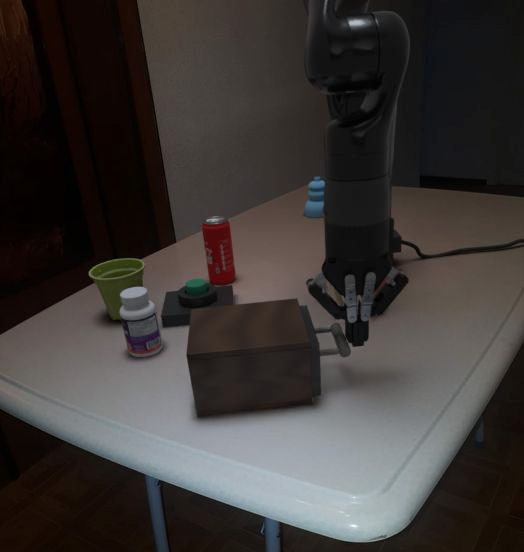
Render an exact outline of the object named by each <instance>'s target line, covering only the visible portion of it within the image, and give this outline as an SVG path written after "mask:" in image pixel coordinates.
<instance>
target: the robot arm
mask: <svg viewBox="0 0 524 552" xmlns="http://www.w3.org/2000/svg"><path fill="white" fill-rule="evenodd" d="M302 2H303V6H304V9H305V12H306V17H307V18H308V19H307V27H306V28H307V29H306V36H305V43H304V52H303V68H304V73H305V77H306V79H307V81H308V83H309V84H310V86H311V87H312V88H313V89H314V90H315V91H317V92H318V93H319V94H322V95H325V97H326V105H327V108H328V115H329V119H330V121H329V122H328V123H327V124H326V125H325V128H324V132H323V150H324V152H323V156H324V157H323V158H324V182H325V186H324V205H323V213H324V217H323V223H324V225H323V227H324V253H325V254H324V255H325V257H324V261H323V263H322V265H321V272H320V273H319V274H318V275H317V276H315V278H308V279H307V280H306V282H305V286H306V289H307V291H308V293H309V295H310V296H311V297H312V298H313V299H314V300H315V301H316V302H317V303H318V304H319V305H320V306H321V307H322V308H323V309H324V310H325V311H326V312H327V313H328V314H329V315H330V316H331V317H332V318H333V319H334V320H336V321H339V320H343V321H344V335H345V337H346V339H347V342H348V344H351V347H352V348H358V347H364V346H365V343H366V342H369V338H370V319H371V318H372V317H374V316H375V317H376V316H377V317H378V316H382V315H383V314H384V313H385V312H386V311H387V310H388V308H389V307H390V306H391V305H392V303H393V302H394V301H395V300H396V299H397V297H398V296H400V293H402V291H403V290H404V289H405V288H406V286H407V285H408V284H409V282H410V279H409V277H408V275H407V274H406V273H405V272H404V271H403V269H399V268H396V267H395V266H394V254H397V253H401V252H402V245H404V246H407V247H410V248H412V249H413V250H414V251H415V252H416V255H417V256H418V257H419V258H421V259H435V258H442V257H448V256H452V255H455V254H456V255H457V254H462V253H469V252H482V251H493V250H500V249H501V250H502V249H507V248H511V247H513V246H515V245H518V244H524V238H518V239H515V240H512V241H510V242H507V243H502V244H495V245H483V246H473V247H461V248H456V249H452V250H448V251H445V252H441V253H438V254H426V253H423V252H421V249H420V247H419V246H418V245H417V244H414V243H413V242H412V241H411V242H410V241H408V240H404V239H403V237H402V235H401V234H400V233H399V232H398V231H397V230H396V229H395V218H393V217H392V197H393V166H394V157H395V138H396V137H395V136H396V125H397V124H396V123H397V114H398V113H397V112H398V99H399V95H400V91H401V89H402V85H403V82H404V79H405V76H406V72H407V68H408V64H409V58H410V53H411V52H410V51H411V40H410V34H409V30H408V28H407V25H406V23H405V21H404V20H403V18H402V17H401V16H400V15H399V14H398V13H397V12H395V11H391V10H380V11H371V12H368V8H369V6H370V0H302ZM386 276H387V277H386ZM385 278H386V283H385V284H384V286H383V287H382V288H381V290H380V291H379V292H378V293H377V295H376V296H375V297H374V298H373V295H374V292H375V291H376V290H377V289H378V287H379V286H380V285H381V283H382V282H383V280H384V279H385ZM327 282H328V283H329V284H330V285H331V286H332V288H333V287H334V288H335V290H336V291H337V292H338V293H339V294H340V295H342V299H343V305H339V304H338V302H337V301H335V299H334V298H333V297H332V296H331V295H330V294H329V293H328V290H329V288H328V285H327ZM356 296H358V300H357V303H356ZM356 306H357V311H356Z"/></svg>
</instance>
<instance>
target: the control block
mask: <svg viewBox="0 0 524 552" xmlns="http://www.w3.org/2000/svg"><path fill="white" fill-rule="evenodd" d="M206 283H207V290H208V291H207V292H206V293H204V294H200V295H187V293H186V287H185V285H183V286H182V287H180V288H179V289H178V290H172V291H166V292H165V295H164V300H163V305H162V310H161V314H160V319H161V323H162V328H171V327H181V326H182V327H183V326H190V317H191V309H199V308H208V307H218V306H227V305H235V295H234V286H233V284H230V285H228V284H227V285H218V286H217V285H215V284H213V283H212V282H211V283H209V282H206Z"/></svg>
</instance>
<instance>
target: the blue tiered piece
mask: <svg viewBox="0 0 524 552" xmlns="http://www.w3.org/2000/svg"><path fill="white" fill-rule="evenodd" d="M324 186H325V180H321V177H320V176H314V177H313V180H312V181H310V182H309V183H308V186H307V187H308V192H307V196H308V198H309V199H308V200H307V201H306V203H305V204H304V216H306V217H308V218H315V219H316V218H324V213H323V205H324Z"/></svg>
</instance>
